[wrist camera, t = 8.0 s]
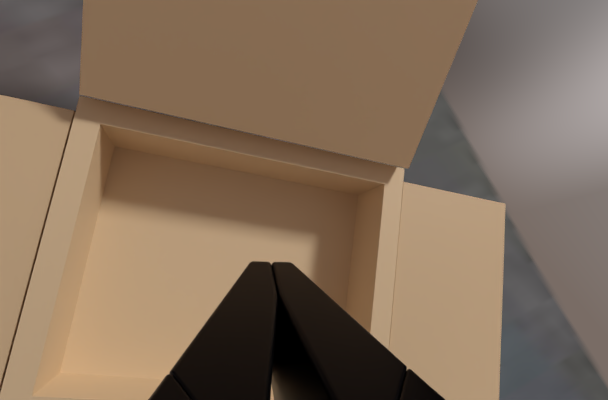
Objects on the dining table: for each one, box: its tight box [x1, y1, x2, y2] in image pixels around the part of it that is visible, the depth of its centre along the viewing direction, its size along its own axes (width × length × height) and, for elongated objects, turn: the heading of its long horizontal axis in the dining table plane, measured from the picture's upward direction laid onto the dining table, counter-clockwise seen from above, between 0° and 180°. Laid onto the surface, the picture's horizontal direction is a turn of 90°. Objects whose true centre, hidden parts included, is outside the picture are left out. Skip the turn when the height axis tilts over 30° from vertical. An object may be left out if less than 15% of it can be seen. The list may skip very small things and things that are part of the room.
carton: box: [0, 95, 505, 400], centre depth 14 cm, size 16×22×3 cm
